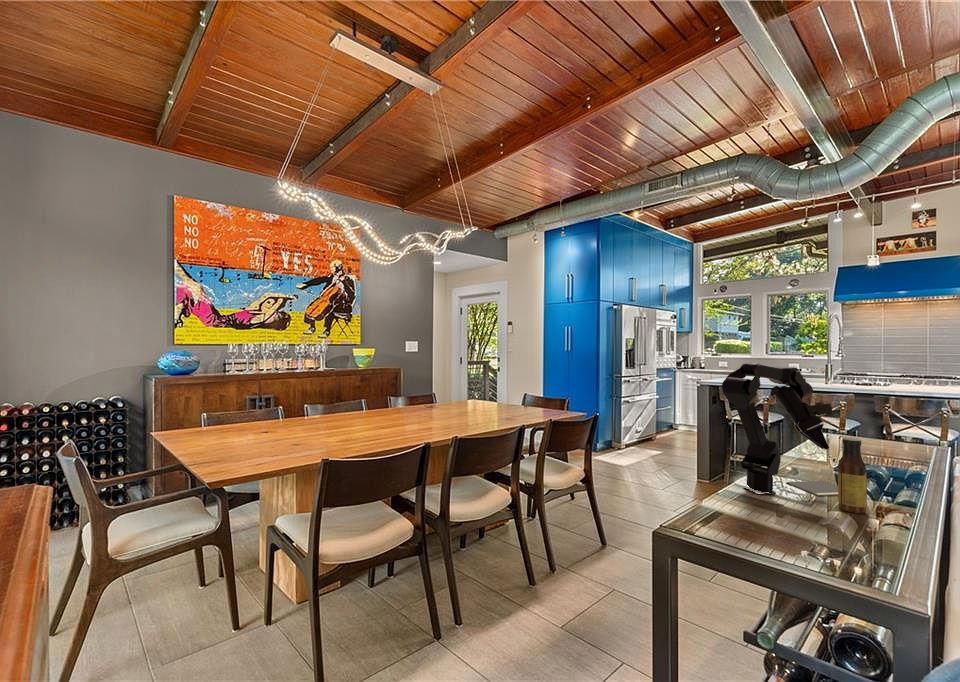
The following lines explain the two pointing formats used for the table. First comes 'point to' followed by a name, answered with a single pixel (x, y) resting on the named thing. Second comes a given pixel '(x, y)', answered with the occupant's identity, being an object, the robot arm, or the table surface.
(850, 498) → the sauce bottle
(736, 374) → the robot arm
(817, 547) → the table surface
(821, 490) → the mat
